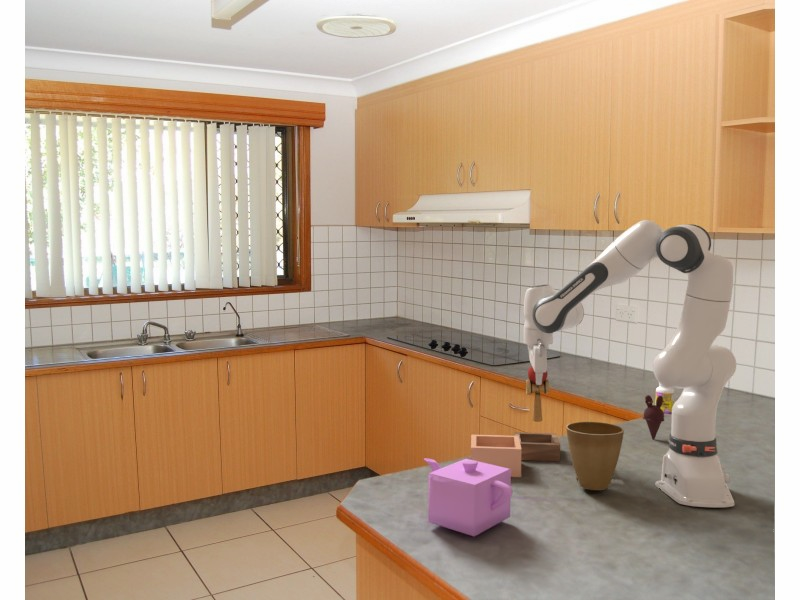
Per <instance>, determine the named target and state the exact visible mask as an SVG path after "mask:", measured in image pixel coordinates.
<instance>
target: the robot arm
mask: <svg viewBox="0 0 800 600" xmlns="http://www.w3.org/2000/svg"><path fill="white" fill-rule="evenodd" d="M711 247H712V239H711V236H710V234H709V232H708V231H707V230H706V229H704V228H703V227H702V226H700V225H696V224H679V225H676V226H675V225H674V226H673V227H672V226H671V227H669V228H668V229H666V230H665V229H664V228H662V227H661V226H660V225H659V224H658V223H656V222H655V221H652V220H649V219H643V220H640V221H638V222H636V223H635V224H632V226H630V227H629V228H628V229H626V230H625V231H624V232H622V233H621V234H619V235H618V236H617V238H615V239H614V240H613V241H612V242H611V243H610V244H609V245H608V246H607V247H606V248H605V249H604V250H603V251H602V252H601V253H600V254H599V255H598V256H597V257H596V258H595V259H594V260H592V262H591V263H590V264H588V265H587V266H586V268H585V269H584V270H582V271H581V272H580V273H578V274H577V275H576V276H575V277H574V278H572V280H570V281H568V282H567V284H565V285H564V286H563V287H562V288H561V289H559V290H556V289H554V288H553V286H552V285H550V284H539V285H533V286H530V287H528V288H527V289H526V291H525V293H524V299H523V316H524V325H523V343H524V344H525V345H527V350H528V357H529V358H528V359H529V362H530V365H531V366H532V367H533V369H534V371H535V373H536V384H537V385H541V384H542V376H543V372H546V371H547V372H548V358H547V357H548V355H547V353H548V352H547V350H549V346H550V345H553V342H554V337H553V335H554V333H555V332H559V331H564V330H568V329H572V328H574V327H578V326H579V324H581V323H582V322H583V319H584V316H585V309H584V307H583V304H582V302H583V301H584V300H586V299H587V298H588V297H590V295H592V294H593V293H595V292H597V291H599V290H602V289H604V288H605V289H606V288H608V287H611V286H615V285H619V284H622V283H625V282H626V281H628V280H630V279H632V278H633V277H635V275H637V274H639V273H640V272H641V271H642V270H643V269H645V267H646V266H648V264H650V263H651V262H652V261H653V260H655V259H657V258H658V259H659V260H660V261H661V262H662V263H663V264H664V265H667V266H668V267H671V268H672V269H674V270H677V271H678V272H681V273H682V274H687V285H686V286H687V287H686V291H685V297H684V302H683V307H682V312H681V316H680V319H679V323H678V325H677V327H676V329H675V332H674V334H673V335H672V337H671V339H670V340H669V342H668V343H667V345H666V346H665V348H664V349H663V350H662V351H660V352H659V353H658V354H657V355H656V356H655V358H654V360H653V363H652V364H653V365H652V371H653V374H654V375H653V376H654V377H655V379H656V380H657V382H658V384H659V383H660V384H662V385H664V386H666V387H671V388H673V389H683V390H682V391H681V394H680V395H679V398H677V400H676V401H674V405H673V407H672V413H671V420H670V421H671V427H670V429H671V430H670V434H669V436H668V437H669V438H668V447H669V449H668V450H667V452H666V453H665V454H664V455H663V457H662V464H661V465H662V466H661V476H660V480H655V484H654V486H655V485H656V486H655V487H657V488H658V489H659V488H660V489H661V491H662V492H663V493H664V494H665V495H667V496H668V497H670V498H671V499H672V500H674V501H675V502H676V503H678V504H680V505H684V506H689V507H690V506H691V507H699V508H730V507H734V506H735V500H734V497H733V496H732V494H731V491H730V488H729V487H728V483H730V482H731V481H730V480H731V477H730V476H731V475H730V474H729V473H724V472H725V465H723V464H722V465H721V461H720V460H721V459H720V456H719V455H717V454H718V442H717V438H716V420H717V409H718V405H719V402H720V399H721V397H722V393H723V390H724V388H725V386H726V385H727V382H729V380H730V379H731V378H732V377H733V376H734V375H735V373H736V370H737V360H736V356H735V355H734V353H733V352H732V351H731V349H729V348H727V347H726V346H722V345H717V344H713V343H714V341H715V340H716V339H717V337H719V336H720V335H721V334H722V333H723V332H724V331H725V330H726V326H727V322H728V315H729V313H730V312H729V311H730V305H731V300H732V294H733V287H734V266H733V264H732V262H731V261H730V260H729V259H728V258H727V257H725V256H722V255H718V254H714V253H712V252H711ZM660 489H659V490H660Z"/></svg>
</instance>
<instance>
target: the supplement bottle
mask: <svg viewBox="0 0 800 600" xmlns="http://www.w3.org/2000/svg"><path fill="white" fill-rule="evenodd" d="M658 396H662V397H663V403H662V406H661V407H660V408H661V409H662V411H663V413H664V414H672V407H673V405H674V403H675V388H671V387H666V386H664V385H662V384H660V383H659V382H658V387H656V389H655V399H654V403H655V404H654V405H656V399H657V397H658Z"/></svg>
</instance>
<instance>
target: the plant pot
mask: <svg viewBox="0 0 800 600" xmlns="http://www.w3.org/2000/svg"><path fill="white" fill-rule="evenodd" d="M565 427H566V435H567V441H568V442H567V443H568V447H569V453H570V458H571V461H572V465H573V469H574V473H575V475H576V478H577V481H578V484H579V486H580V487H581V488H583V489H585V490H590V491H603V490H604V491H605V490H606V489H608V488H609V486H610V485H611V481H612V479H613V476H614V473H615V471H616V469H617V468H616V467H617V465H618V461H619V458H620V453H621V449H622V444H623V439H624V433H625V432H624V431H625V429H624V428H623V427H622V426H620V425H617V424H614V423H609V422H608V423H607V422H599V421H577V422H572V423H568V424H567V425H566V426H565Z"/></svg>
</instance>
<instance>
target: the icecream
mask: <svg viewBox="0 0 800 600" xmlns="http://www.w3.org/2000/svg"><path fill="white" fill-rule="evenodd" d="M644 400H645V401H644V402H645V404H646V406H647V407H646V408H645V409H644V411H643V417H642V420H645V422H646V425H647V428H648V431H649V434H650V436H651V439H652V440H653V441H654V440H655V438H656V436H657V434H658V431H659V430H660V428H661V424H662V422H664V421H665V413H663V411H662V409H661V408H660V407H661V406H662V403H663V397H662V396H658V397H657V399H656V398H655V400H656V405H655V404H654V405H653V403H654V400H653V398H652V396H651V395H649V394H647V395H645V398H644Z"/></svg>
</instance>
